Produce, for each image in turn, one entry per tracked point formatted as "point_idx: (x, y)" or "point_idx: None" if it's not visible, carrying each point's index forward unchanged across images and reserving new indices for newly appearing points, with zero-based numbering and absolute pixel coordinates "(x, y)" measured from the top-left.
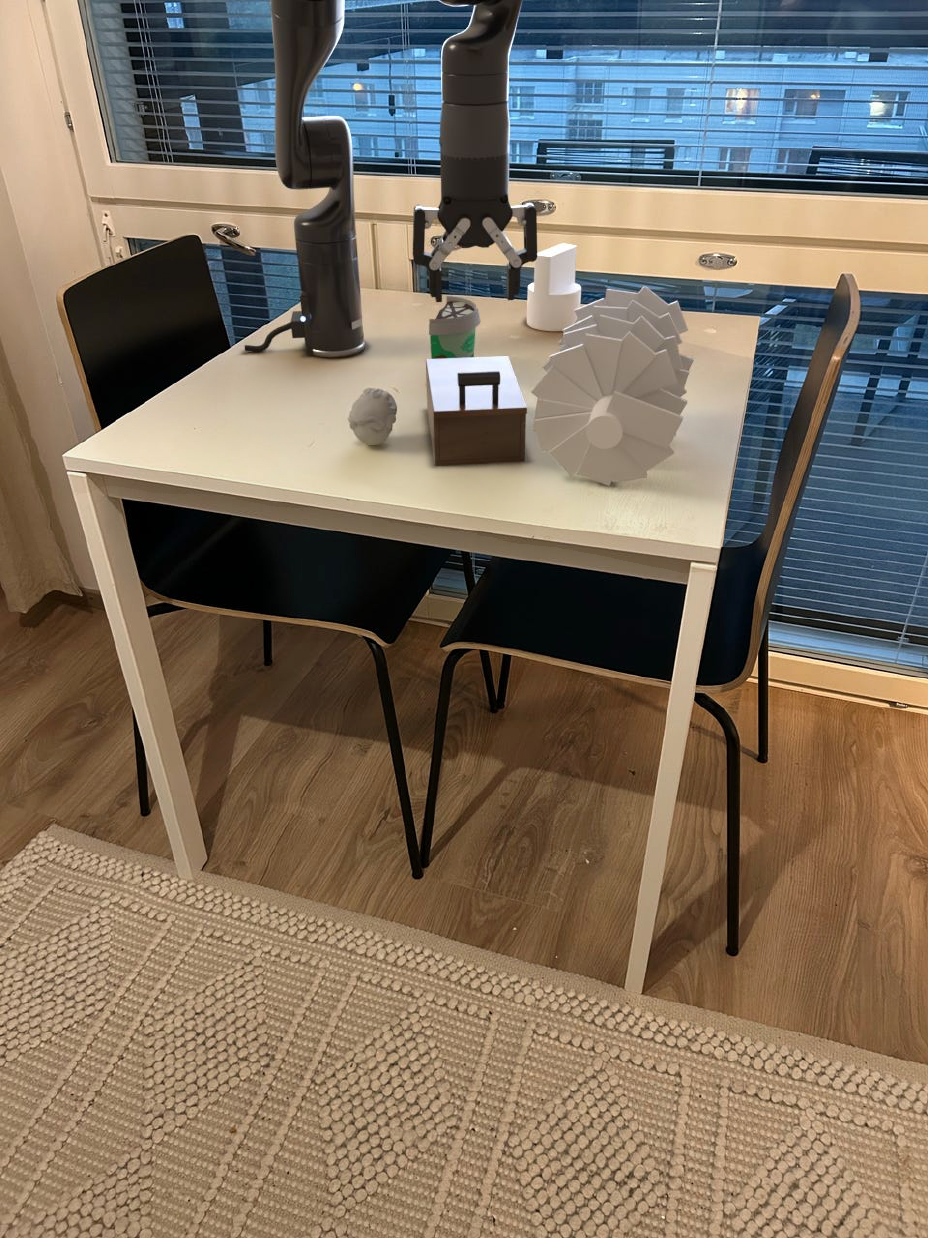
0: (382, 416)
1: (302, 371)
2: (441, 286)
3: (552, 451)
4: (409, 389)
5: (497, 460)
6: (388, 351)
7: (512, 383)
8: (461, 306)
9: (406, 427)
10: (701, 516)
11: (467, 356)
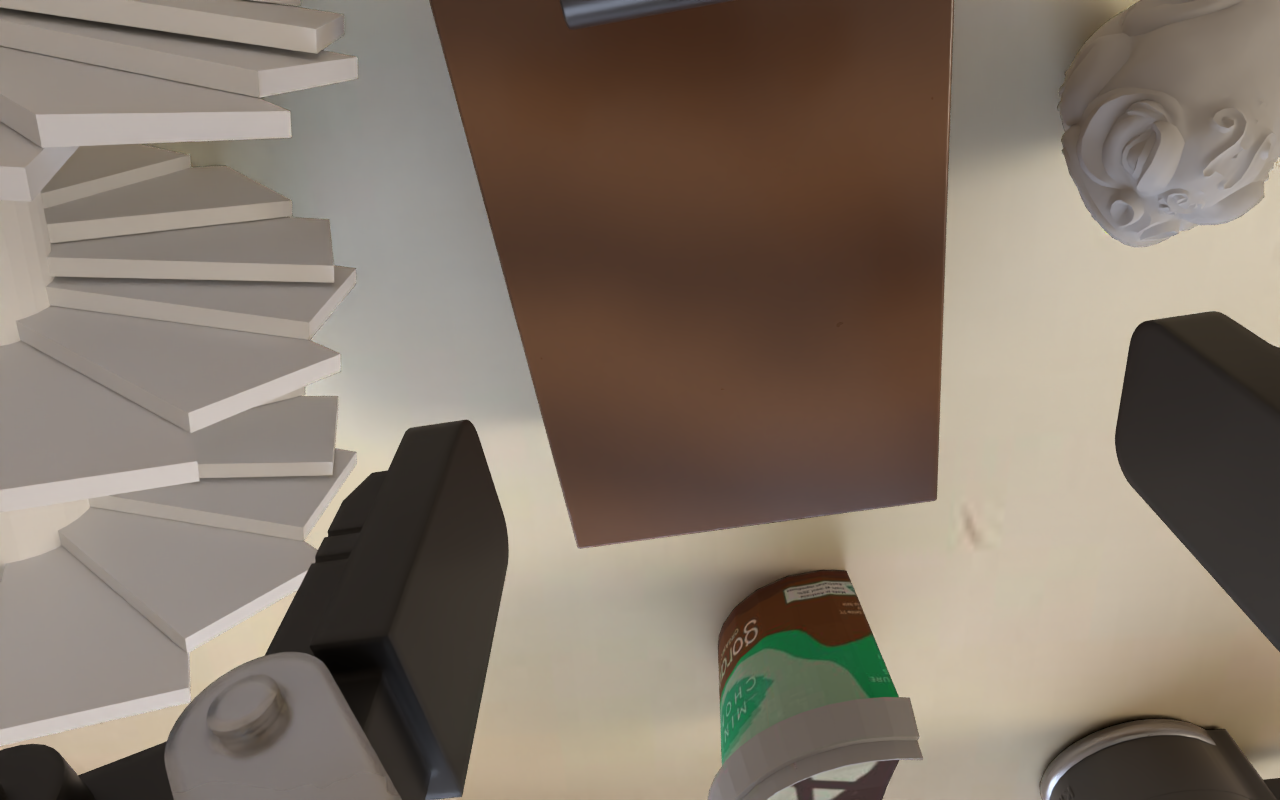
0: (1158, 30)
1: (1259, 636)
2: (1251, 386)
3: None
4: (926, 537)
5: None
6: (970, 762)
7: (525, 244)
8: None
9: (961, 240)
10: None
11: (742, 667)
